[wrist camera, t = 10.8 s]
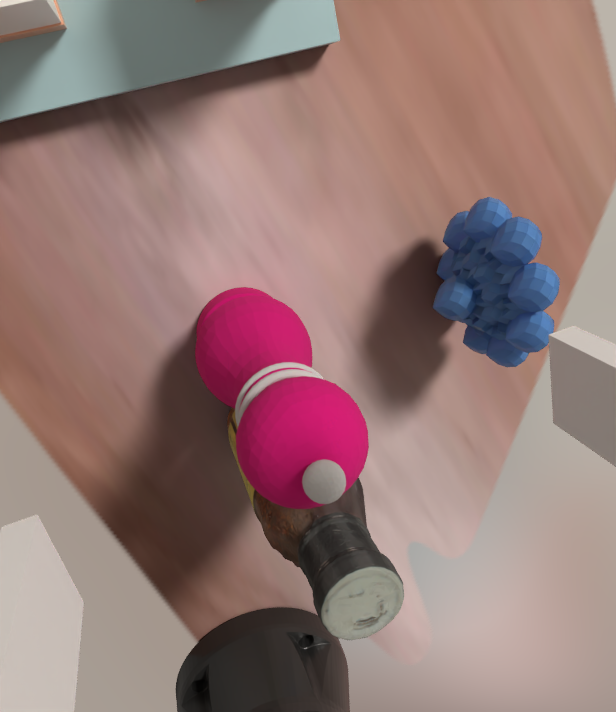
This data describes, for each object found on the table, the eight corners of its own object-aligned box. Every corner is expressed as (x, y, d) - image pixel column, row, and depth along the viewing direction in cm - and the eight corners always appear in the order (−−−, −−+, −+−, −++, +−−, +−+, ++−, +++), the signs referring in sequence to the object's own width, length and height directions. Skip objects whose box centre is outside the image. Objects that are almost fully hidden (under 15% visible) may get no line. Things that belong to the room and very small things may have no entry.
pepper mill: (240, 257, 39) (336, 373, 21) (312, 325, 42) (448, 476, 24) (166, 335, 39) (199, 513, 22) (242, 397, 43) (326, 596, 25)
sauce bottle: (286, 461, 46) (387, 677, 28) (211, 442, 43) (269, 666, 26) (320, 387, 44) (450, 567, 26) (244, 364, 42) (330, 544, 24)
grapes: (379, 205, 40) (470, 236, 30) (467, 176, 41) (585, 196, 31) (408, 353, 45) (495, 425, 35) (486, 324, 46) (594, 386, 36)
